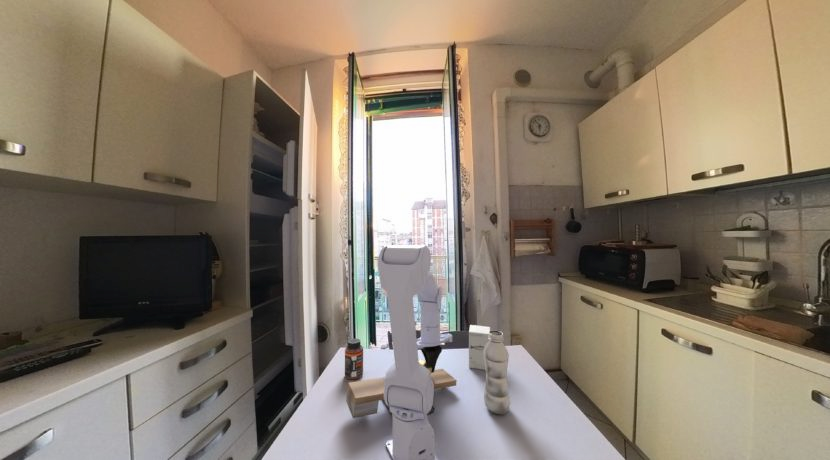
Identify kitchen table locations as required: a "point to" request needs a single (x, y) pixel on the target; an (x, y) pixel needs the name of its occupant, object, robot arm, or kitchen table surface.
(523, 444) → the kitchen table surface
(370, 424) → the kitchen table surface
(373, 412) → the balance beam
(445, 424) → the kitchen table surface
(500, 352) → the plastic bottle
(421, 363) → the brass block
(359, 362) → the supplement bottle
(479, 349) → the supplement box
